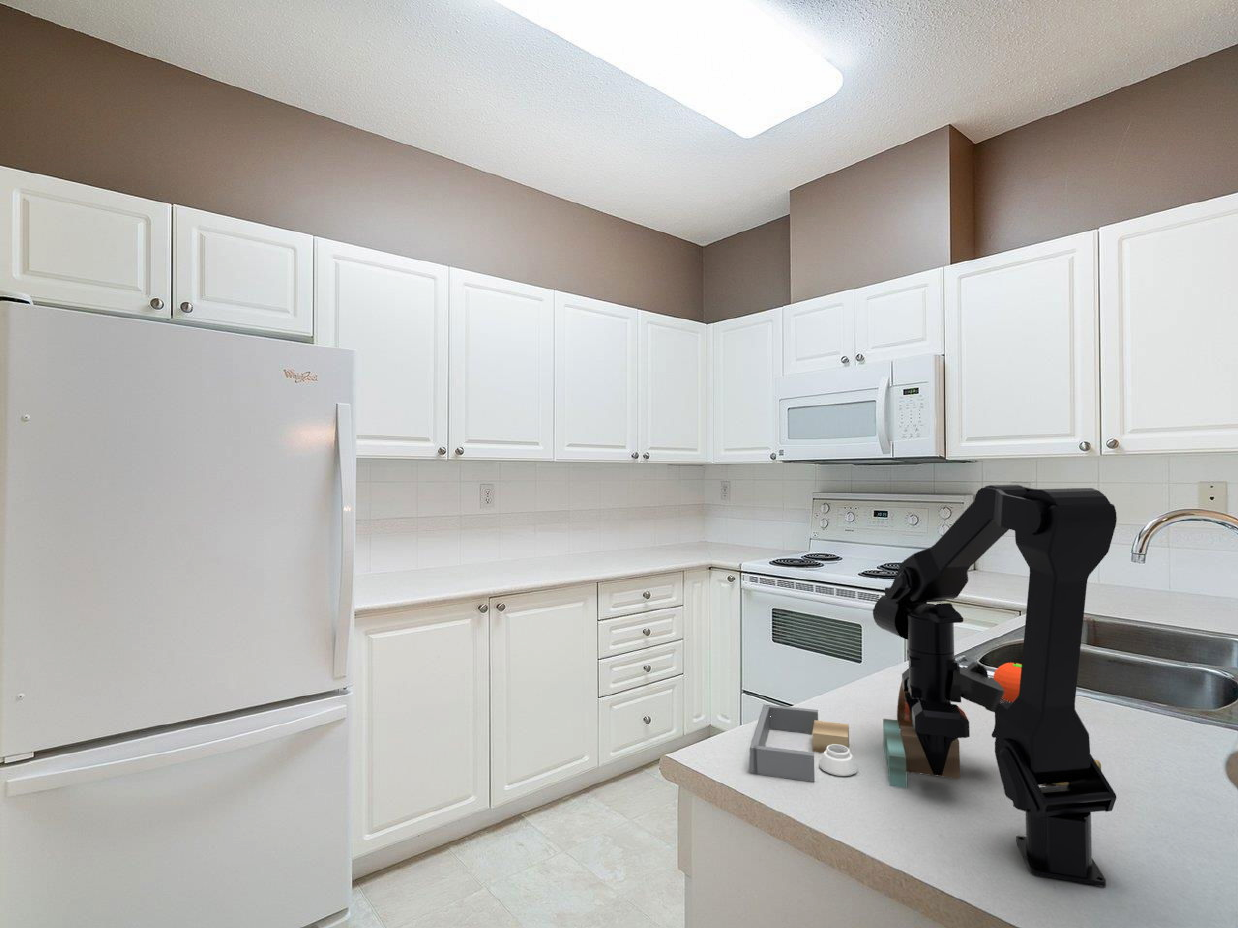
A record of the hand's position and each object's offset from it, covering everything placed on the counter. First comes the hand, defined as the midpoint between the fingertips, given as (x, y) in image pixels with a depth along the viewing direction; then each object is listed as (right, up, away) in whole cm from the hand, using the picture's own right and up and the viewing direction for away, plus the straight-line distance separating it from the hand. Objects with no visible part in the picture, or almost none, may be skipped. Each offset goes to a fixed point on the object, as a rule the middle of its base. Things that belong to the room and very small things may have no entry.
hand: (933, 761), depth 88 cm
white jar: (-13, -2, +1) cm, 13 cm away
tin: (+5, -1, +16) cm, 17 cm away
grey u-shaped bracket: (-18, -2, +6) cm, 20 cm away
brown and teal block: (-1, -1, 0) cm, 1 cm away
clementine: (+27, -1, +24) cm, 36 cm away
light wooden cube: (-12, -2, +8) cm, 14 cm away
